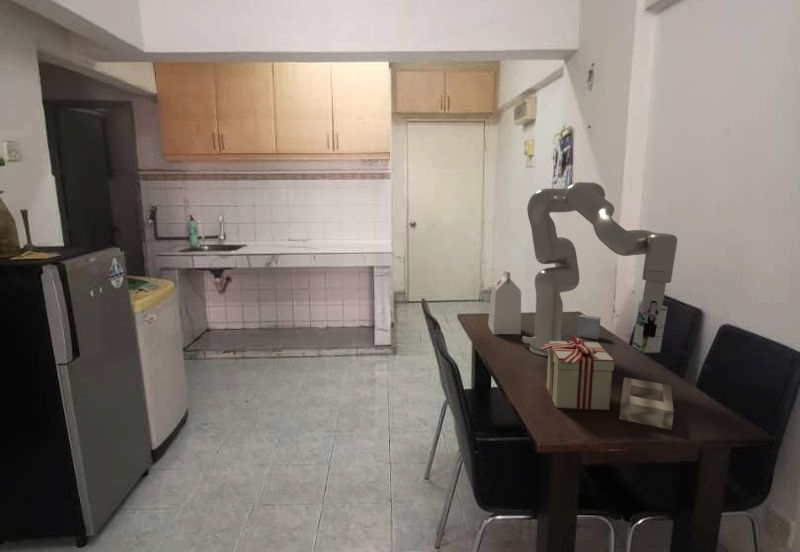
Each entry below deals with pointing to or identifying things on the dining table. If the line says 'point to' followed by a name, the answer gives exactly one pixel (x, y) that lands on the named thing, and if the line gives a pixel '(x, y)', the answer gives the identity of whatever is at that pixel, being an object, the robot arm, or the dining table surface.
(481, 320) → the dining table surface
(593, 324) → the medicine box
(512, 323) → the milk
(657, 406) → the socket block
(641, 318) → the syrup box
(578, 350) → the gift box
